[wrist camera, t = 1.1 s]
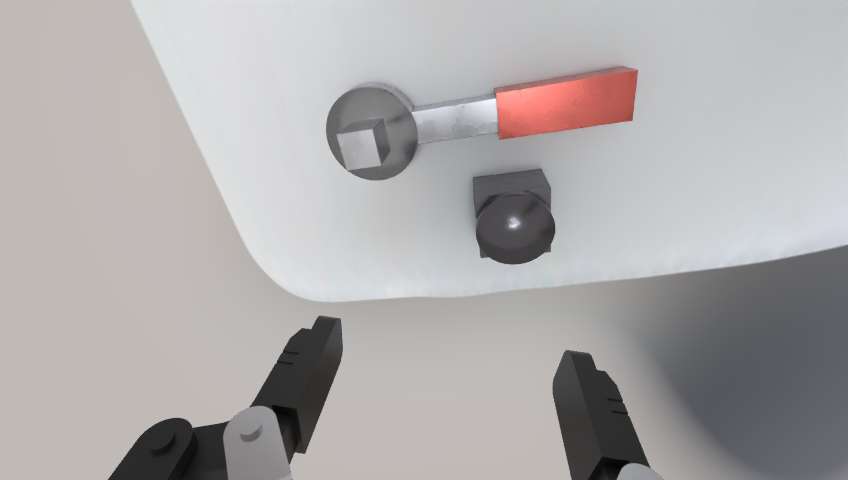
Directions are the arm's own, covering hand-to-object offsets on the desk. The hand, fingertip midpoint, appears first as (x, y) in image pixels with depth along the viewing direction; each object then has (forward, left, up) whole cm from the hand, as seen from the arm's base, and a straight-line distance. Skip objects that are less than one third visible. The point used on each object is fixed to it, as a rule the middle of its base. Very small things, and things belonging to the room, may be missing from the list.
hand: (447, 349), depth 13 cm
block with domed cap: (-4, +4, -20) cm, 21 cm away
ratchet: (-1, -4, -20) cm, 21 cm away
